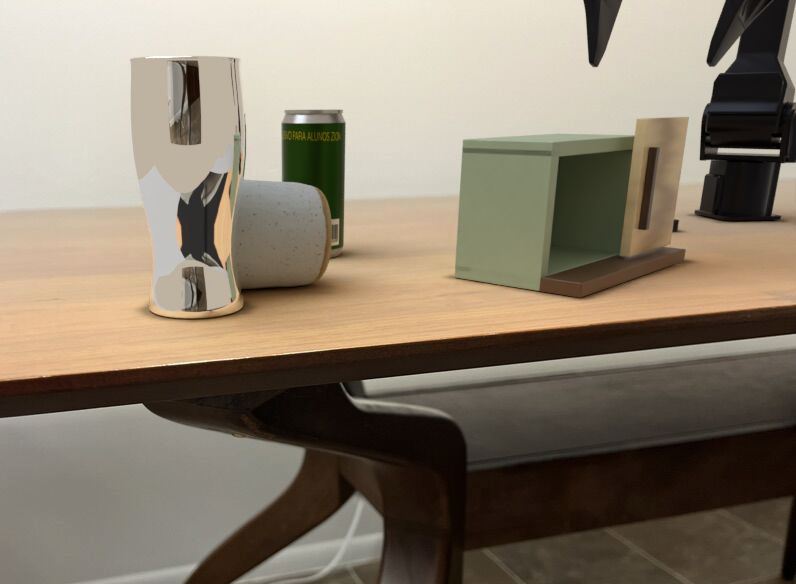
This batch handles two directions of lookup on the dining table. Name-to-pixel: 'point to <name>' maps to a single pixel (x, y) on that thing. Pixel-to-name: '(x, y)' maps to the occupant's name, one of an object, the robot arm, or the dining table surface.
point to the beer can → (317, 159)
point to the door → (653, 184)
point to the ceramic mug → (282, 234)
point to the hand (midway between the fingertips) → (648, 65)
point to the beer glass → (190, 178)
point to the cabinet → (549, 214)
